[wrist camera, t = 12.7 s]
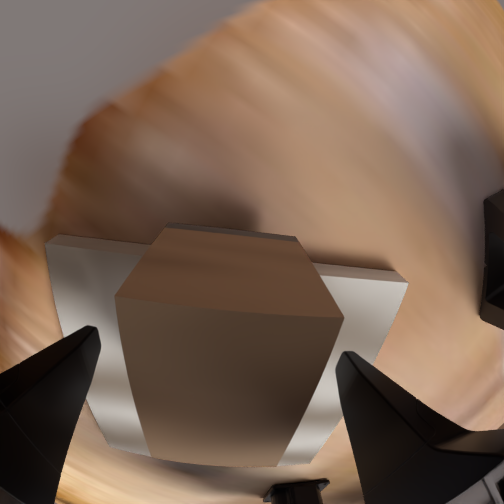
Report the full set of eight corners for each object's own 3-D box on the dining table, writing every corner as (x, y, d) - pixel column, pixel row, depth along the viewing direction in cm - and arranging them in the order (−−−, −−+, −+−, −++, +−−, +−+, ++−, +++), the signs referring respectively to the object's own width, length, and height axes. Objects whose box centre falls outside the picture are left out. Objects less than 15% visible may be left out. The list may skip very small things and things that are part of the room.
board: (306, 452, 18) (309, 463, 17) (112, 435, 17) (109, 447, 15) (396, 271, 12) (409, 283, 11) (58, 234, 10) (44, 243, 9)
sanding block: (264, 375, 12) (276, 466, 8) (170, 367, 12) (151, 457, 7) (295, 236, 10) (344, 317, 5) (168, 222, 9) (114, 295, 5)
